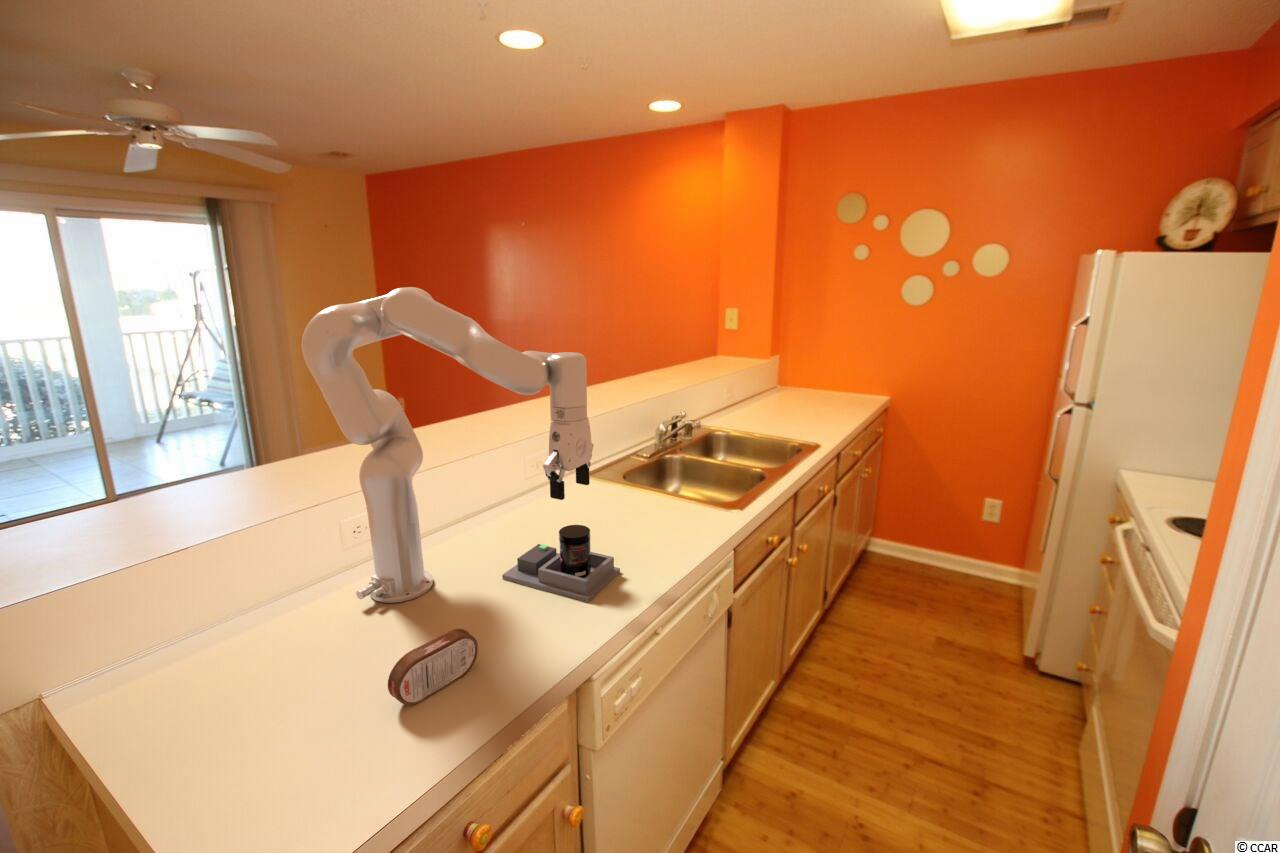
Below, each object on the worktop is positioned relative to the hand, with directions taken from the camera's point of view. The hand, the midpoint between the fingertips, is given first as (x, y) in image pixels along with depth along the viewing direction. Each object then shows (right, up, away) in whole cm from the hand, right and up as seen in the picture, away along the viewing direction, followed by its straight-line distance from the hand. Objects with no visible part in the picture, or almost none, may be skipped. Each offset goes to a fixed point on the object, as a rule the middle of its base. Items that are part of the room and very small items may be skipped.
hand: (570, 491), depth 124 cm
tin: (-18, -29, -29) cm, 45 cm away
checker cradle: (-3, -20, +6) cm, 21 cm away
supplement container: (+1, -19, +4) cm, 20 cm away
